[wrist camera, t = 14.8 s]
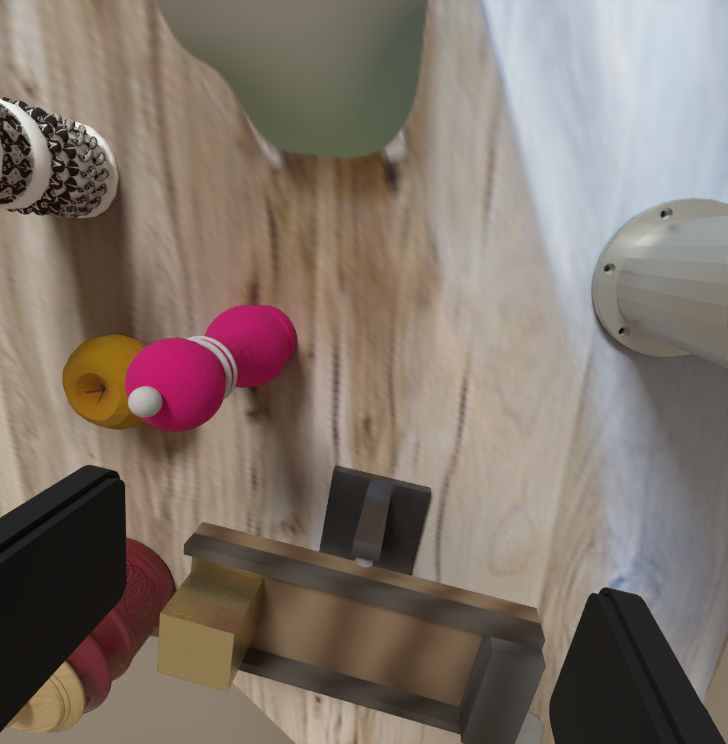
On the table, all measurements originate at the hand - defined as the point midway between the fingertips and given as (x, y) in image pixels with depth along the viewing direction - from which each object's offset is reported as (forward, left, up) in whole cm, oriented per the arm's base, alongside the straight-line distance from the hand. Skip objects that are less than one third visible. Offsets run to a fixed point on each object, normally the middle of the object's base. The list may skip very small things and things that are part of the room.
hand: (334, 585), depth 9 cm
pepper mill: (+14, +5, -34) cm, 37 cm away
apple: (+26, +11, -34) cm, 44 cm away
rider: (+11, +26, -24) cm, 37 cm away
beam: (0, +27, -26) cm, 37 cm away
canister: (+28, +39, -34) cm, 58 cm away
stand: (0, +27, -34) cm, 43 cm away
